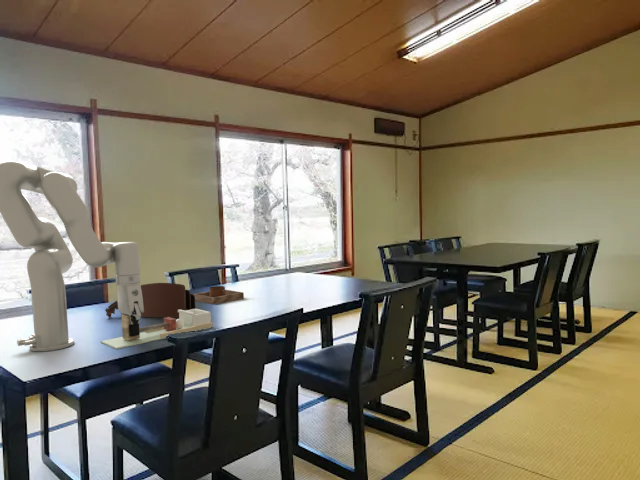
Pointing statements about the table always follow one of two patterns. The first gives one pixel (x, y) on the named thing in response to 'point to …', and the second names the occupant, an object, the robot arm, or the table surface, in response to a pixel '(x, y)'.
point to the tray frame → (221, 299)
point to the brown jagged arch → (111, 309)
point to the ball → (179, 323)
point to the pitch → (192, 322)
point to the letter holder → (166, 299)
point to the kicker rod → (168, 325)
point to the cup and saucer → (217, 291)
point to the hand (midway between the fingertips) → (131, 334)
